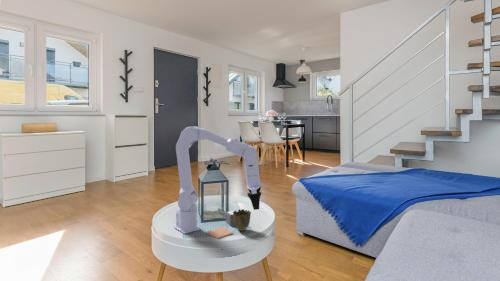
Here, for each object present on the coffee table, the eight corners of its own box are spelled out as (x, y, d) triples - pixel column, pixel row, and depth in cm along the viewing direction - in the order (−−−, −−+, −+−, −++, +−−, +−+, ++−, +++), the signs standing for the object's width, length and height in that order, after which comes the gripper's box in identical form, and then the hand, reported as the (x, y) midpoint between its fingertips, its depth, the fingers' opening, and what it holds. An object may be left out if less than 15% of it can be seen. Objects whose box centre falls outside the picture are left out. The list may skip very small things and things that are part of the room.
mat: (206, 233, 117) (206, 231, 117) (222, 228, 122) (222, 227, 122) (217, 239, 111) (217, 237, 111) (233, 233, 116) (233, 232, 116)
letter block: (226, 222, 129) (226, 211, 129) (236, 221, 131) (236, 210, 131) (230, 226, 124) (230, 214, 124) (240, 224, 127) (240, 213, 126)
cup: (239, 235, 114) (239, 215, 114) (229, 229, 120) (229, 211, 120) (254, 231, 119) (254, 212, 118) (244, 225, 125) (244, 208, 124)
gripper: (262, 176, 111) (266, 210, 112) (261, 170, 125) (265, 200, 126) (244, 179, 111) (248, 212, 112) (245, 172, 125) (249, 202, 126)
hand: (256, 206), depth 119 cm, fingers open, 7 cm apart
